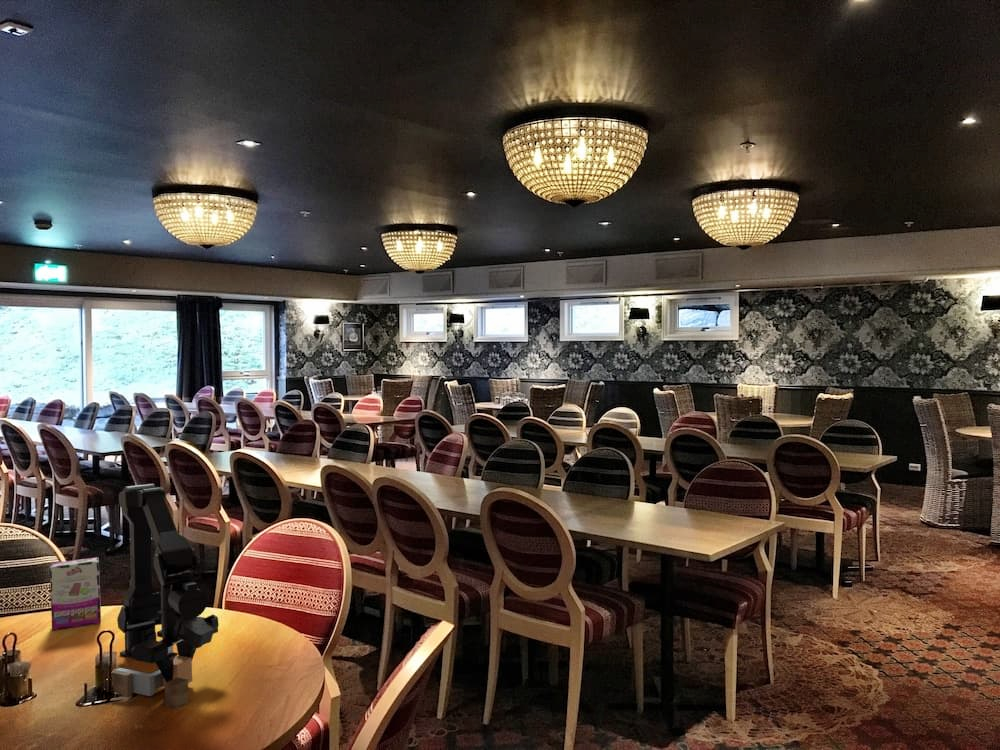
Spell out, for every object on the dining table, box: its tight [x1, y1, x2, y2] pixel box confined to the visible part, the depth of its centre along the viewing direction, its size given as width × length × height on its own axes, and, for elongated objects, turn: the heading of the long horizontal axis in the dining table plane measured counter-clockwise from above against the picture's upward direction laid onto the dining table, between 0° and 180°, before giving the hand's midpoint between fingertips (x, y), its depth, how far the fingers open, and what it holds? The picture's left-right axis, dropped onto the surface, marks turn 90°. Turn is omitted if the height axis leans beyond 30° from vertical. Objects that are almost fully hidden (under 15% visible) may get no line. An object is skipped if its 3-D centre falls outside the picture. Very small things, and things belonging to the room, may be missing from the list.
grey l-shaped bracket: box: [115, 667, 164, 697], centre depth 163 cm, size 10×7×4 cm
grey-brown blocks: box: [111, 669, 189, 709], centre depth 159 cm, size 20×3×4 cm, turn 69°
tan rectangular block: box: [162, 655, 193, 687], centre depth 162 cm, size 4×4×5 cm
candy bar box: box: [49, 556, 102, 631], centre depth 200 cm, size 11×5×16 cm, turn 117°
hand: (177, 678), depth 162 cm, fingers closed on tan rectangular block, 4 cm apart
